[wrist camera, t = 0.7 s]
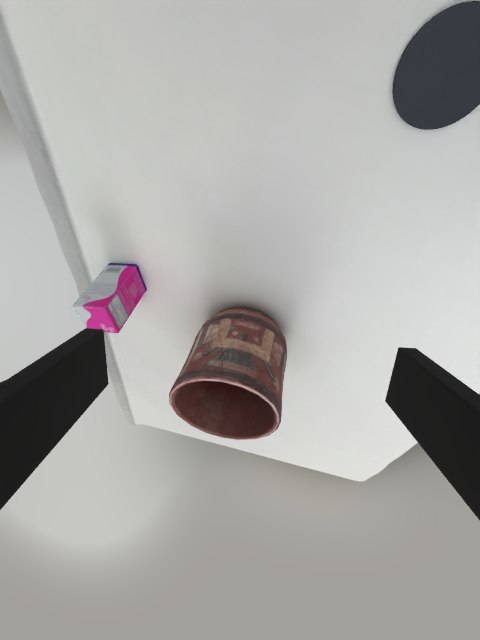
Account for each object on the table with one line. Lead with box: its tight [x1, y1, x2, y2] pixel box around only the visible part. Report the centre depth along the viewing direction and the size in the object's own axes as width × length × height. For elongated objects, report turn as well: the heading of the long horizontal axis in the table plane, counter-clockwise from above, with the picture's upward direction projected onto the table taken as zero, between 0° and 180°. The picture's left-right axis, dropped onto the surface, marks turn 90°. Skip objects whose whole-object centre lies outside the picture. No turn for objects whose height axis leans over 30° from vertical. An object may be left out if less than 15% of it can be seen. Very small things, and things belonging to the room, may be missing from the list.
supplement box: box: [72, 264, 147, 333], centre depth 50 cm, size 6×6×12 cm
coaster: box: [393, 1, 480, 129], centre depth 27 cm, size 9×9×1 cm
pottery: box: [169, 308, 287, 440], centre depth 51 cm, size 18×18×18 cm
